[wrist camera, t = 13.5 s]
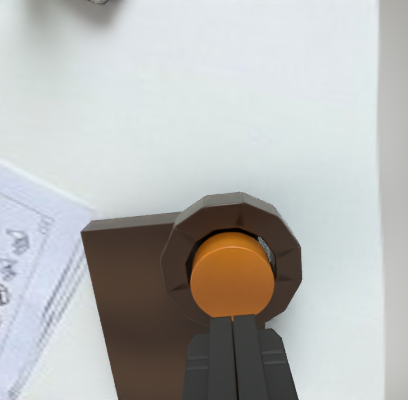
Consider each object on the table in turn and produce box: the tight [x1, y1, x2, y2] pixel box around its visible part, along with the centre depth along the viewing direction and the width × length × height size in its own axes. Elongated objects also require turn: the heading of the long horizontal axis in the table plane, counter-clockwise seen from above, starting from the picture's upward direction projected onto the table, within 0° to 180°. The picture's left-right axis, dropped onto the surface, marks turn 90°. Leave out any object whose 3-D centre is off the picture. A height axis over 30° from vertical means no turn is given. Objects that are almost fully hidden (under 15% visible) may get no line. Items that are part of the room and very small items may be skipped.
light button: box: [190, 232, 274, 321], centre depth 16 cm, size 4×4×2 cm
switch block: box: [80, 192, 302, 400], centre depth 19 cm, size 13×11×4 cm
